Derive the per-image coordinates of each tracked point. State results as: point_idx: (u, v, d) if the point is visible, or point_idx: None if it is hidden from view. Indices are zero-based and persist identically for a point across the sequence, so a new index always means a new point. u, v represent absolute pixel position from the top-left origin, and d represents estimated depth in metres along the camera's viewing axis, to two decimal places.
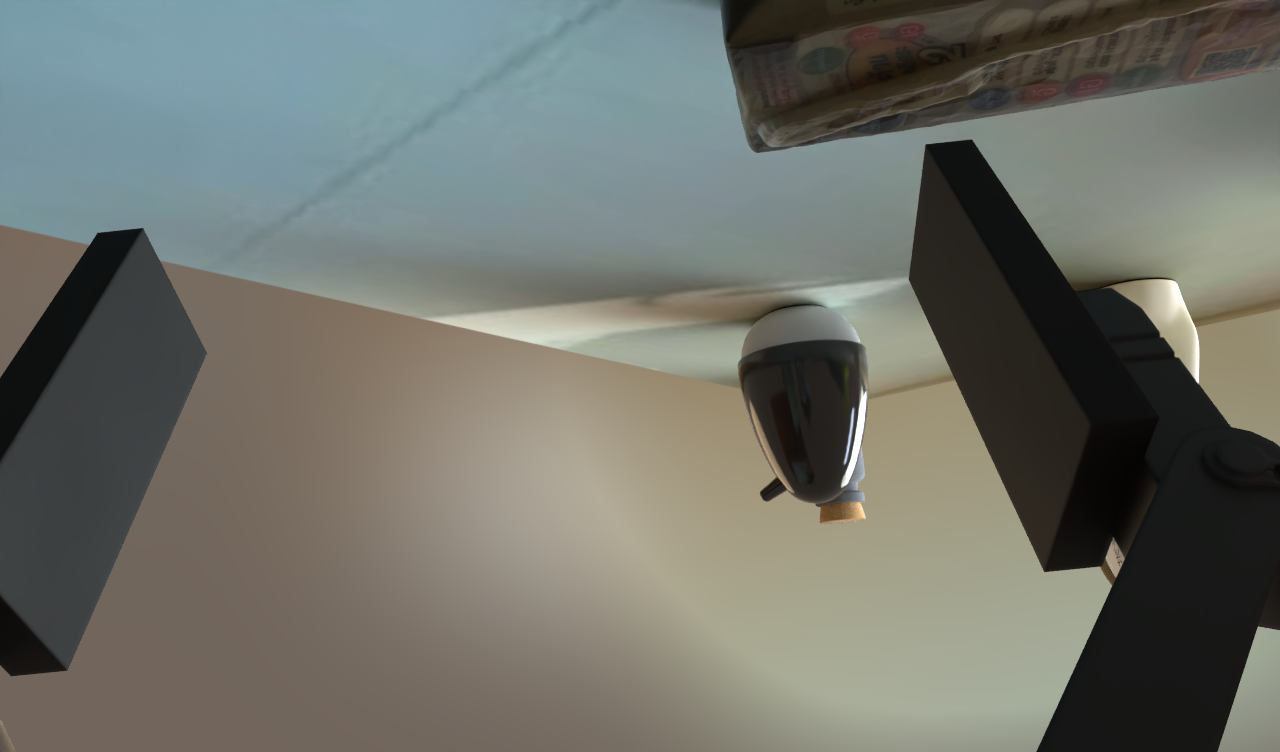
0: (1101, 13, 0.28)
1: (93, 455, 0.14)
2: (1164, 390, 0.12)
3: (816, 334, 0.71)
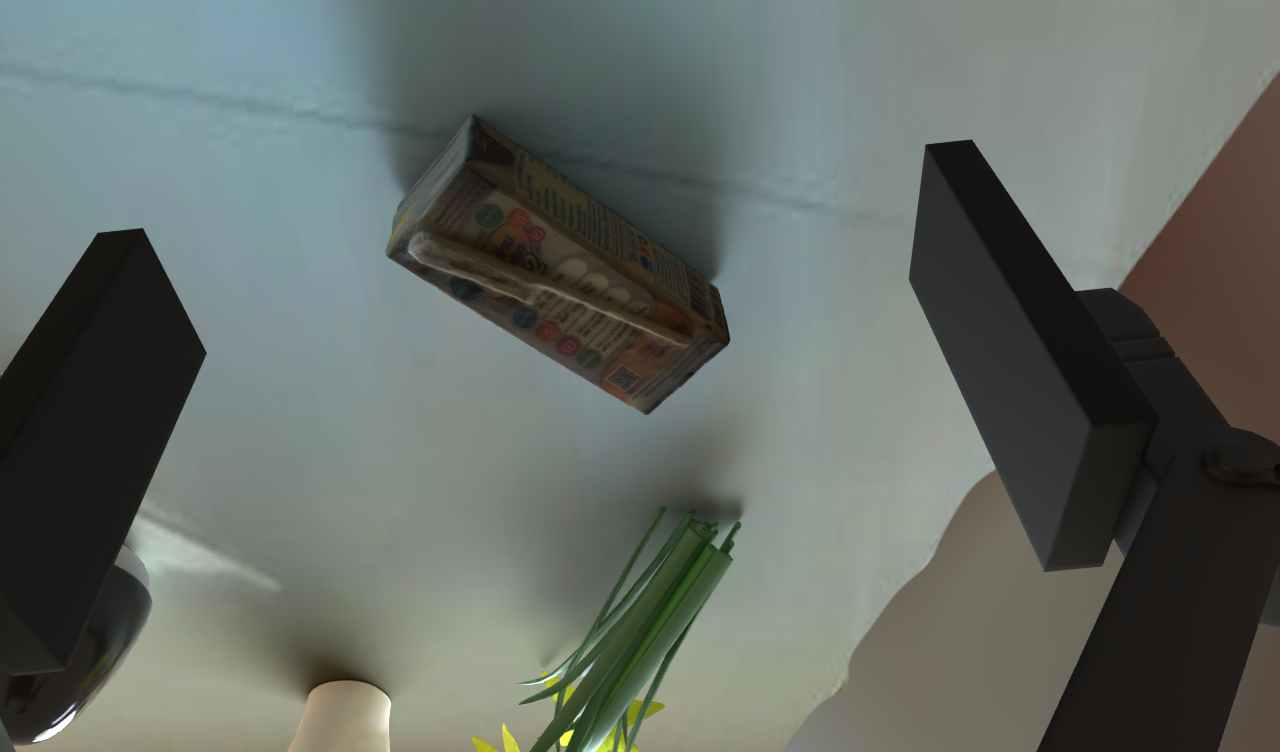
0: (606, 298, 0.53)
1: (93, 455, 0.14)
2: (1164, 390, 0.12)
3: (127, 567, 0.71)
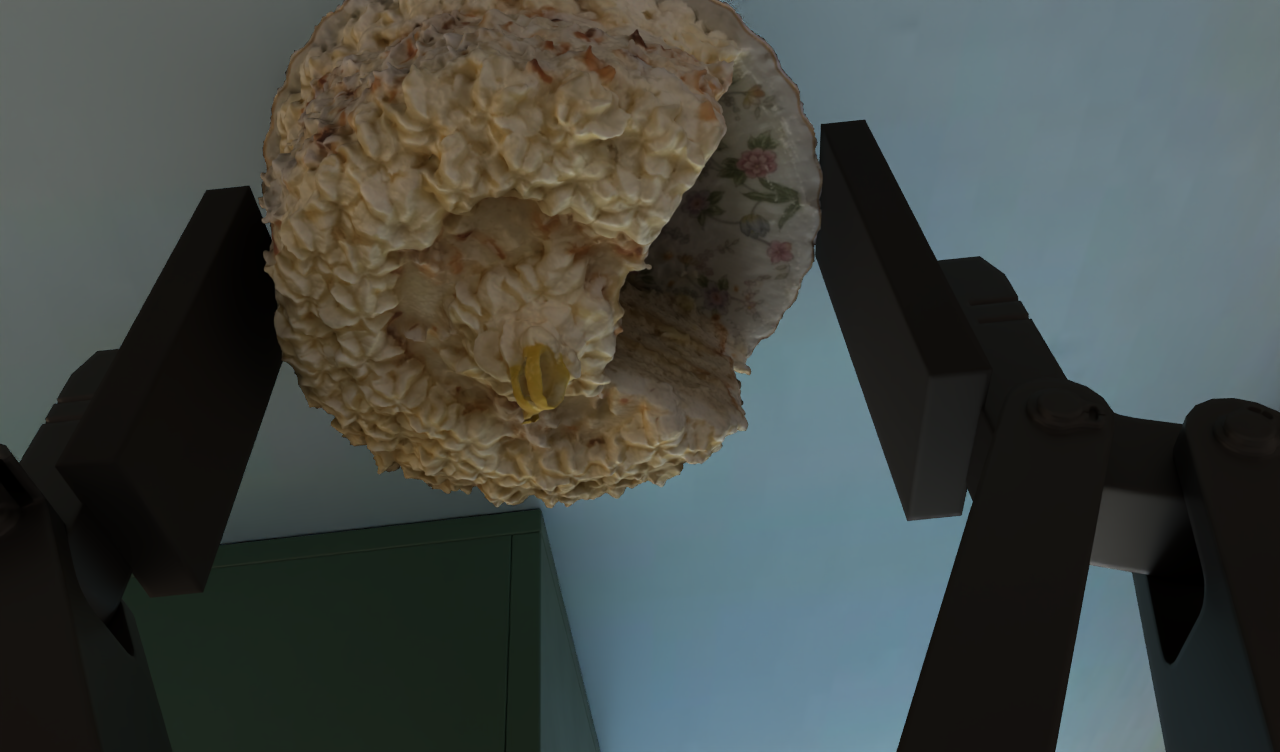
0: None
1: (217, 395, 0.14)
2: (1013, 348, 0.12)
3: None
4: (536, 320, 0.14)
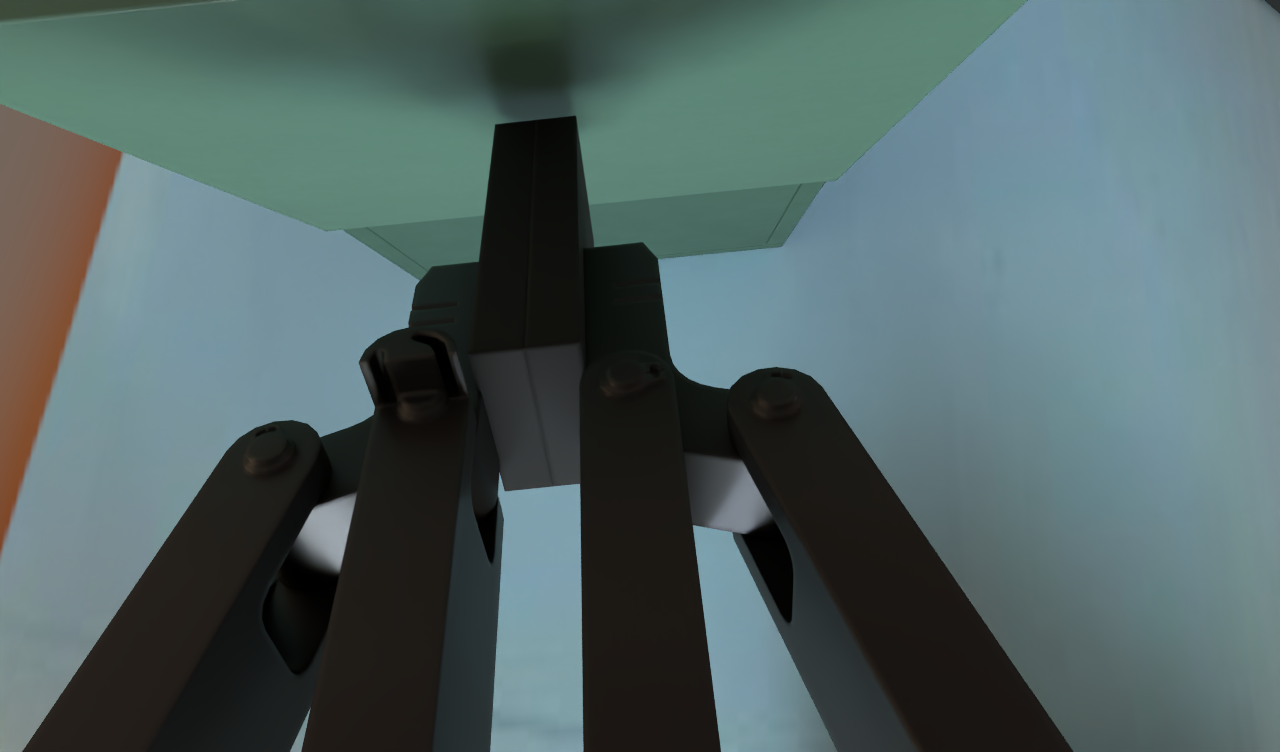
0: None
1: None
2: (634, 325, 0.14)
3: None
4: None
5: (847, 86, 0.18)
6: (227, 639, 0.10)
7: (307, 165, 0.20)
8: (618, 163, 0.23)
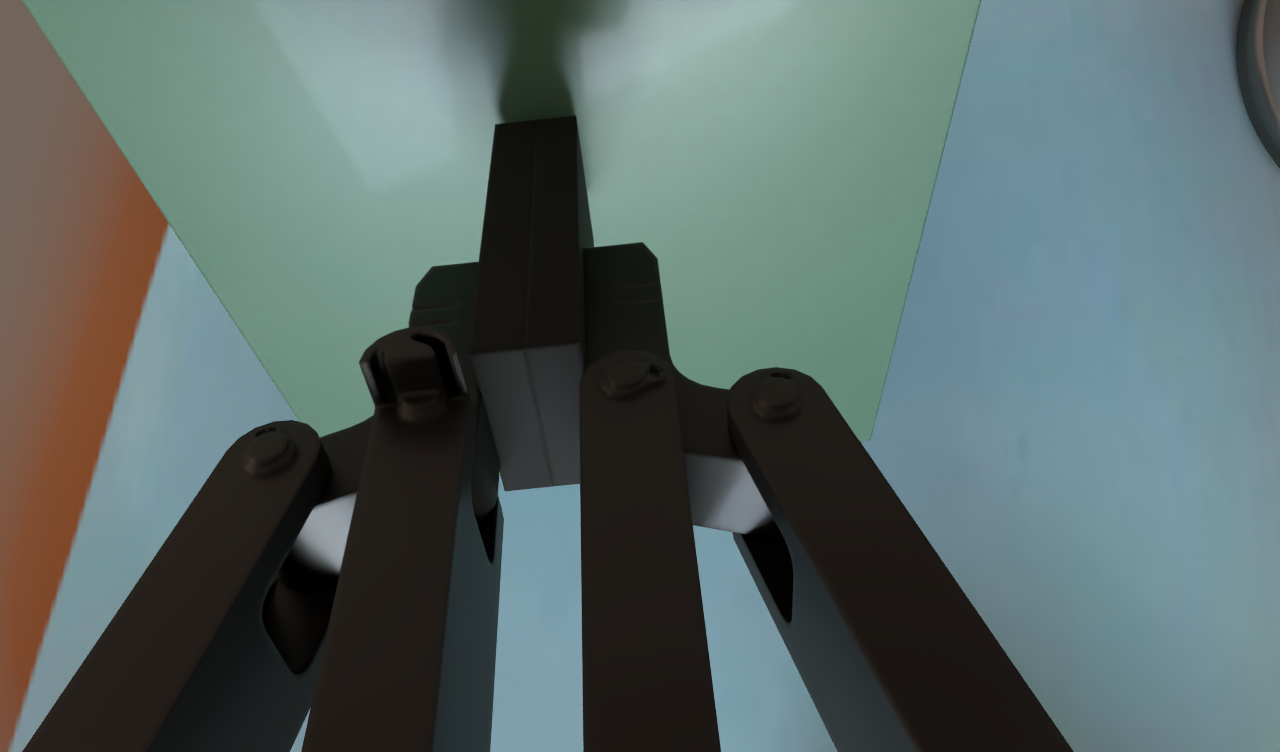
0: None
1: None
2: (634, 325, 0.14)
3: None
4: None
5: (845, 177, 0.19)
6: (227, 639, 0.10)
7: (336, 291, 0.21)
8: None
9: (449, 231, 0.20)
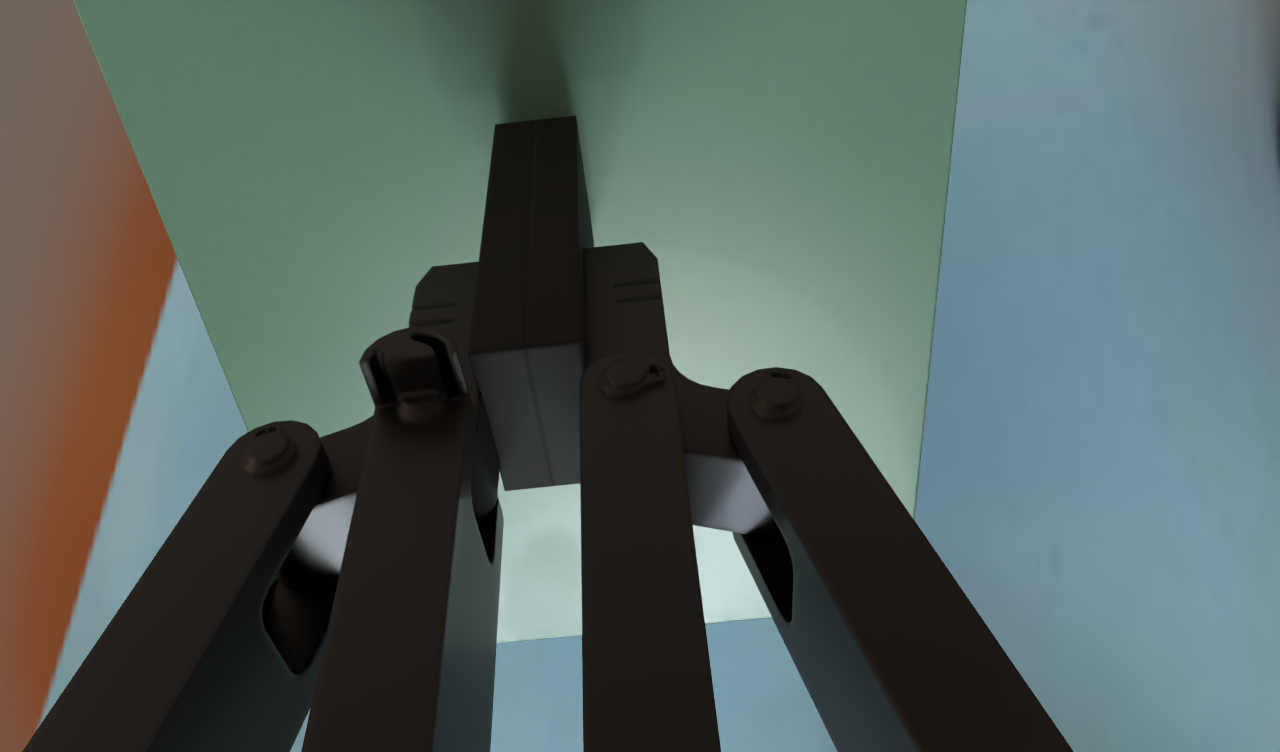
0: None
1: None
2: (634, 325, 0.14)
3: None
4: None
5: (849, 267, 0.20)
6: (227, 639, 0.10)
7: (351, 393, 0.21)
8: None
9: None
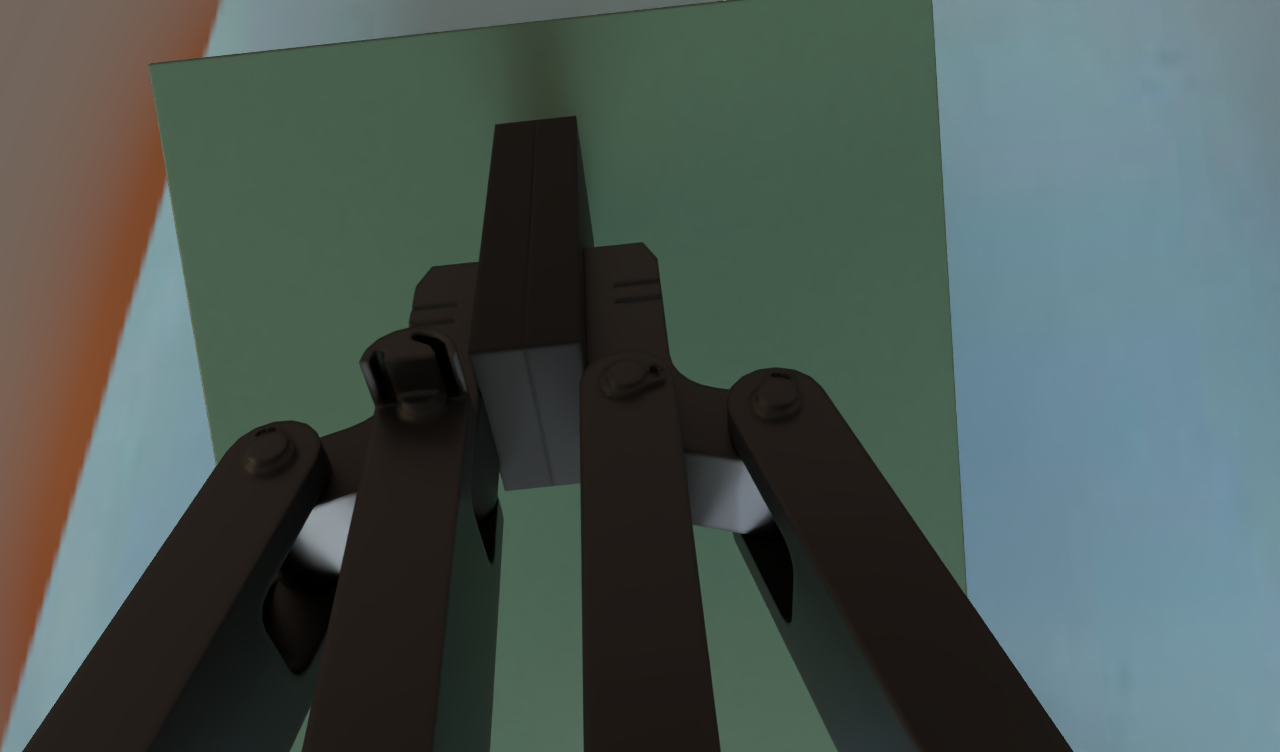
0: None
1: None
2: (634, 325, 0.14)
3: None
4: None
5: (858, 330, 0.20)
6: (227, 639, 0.10)
7: None
8: None
9: None
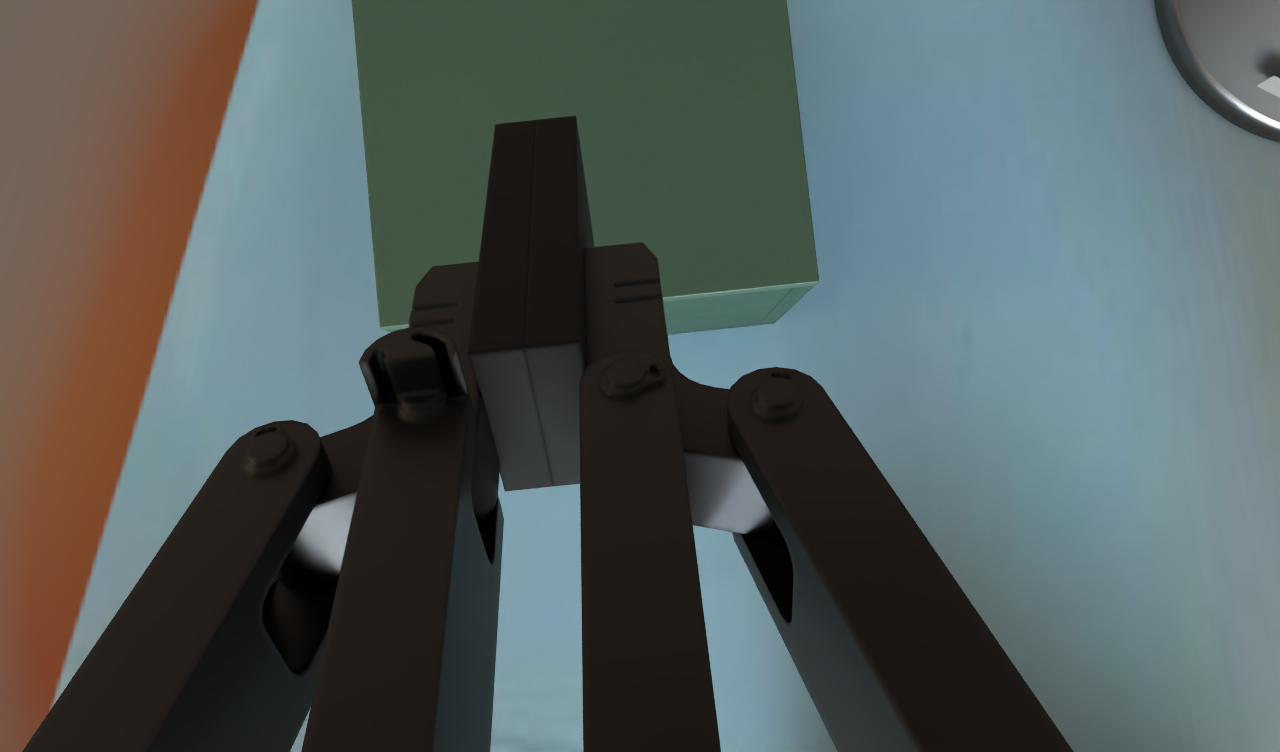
0: None
1: None
2: (634, 325, 0.14)
3: None
4: None
5: None
6: (227, 639, 0.10)
7: (430, 80, 0.34)
8: (620, 144, 0.34)
9: (505, 32, 0.34)
